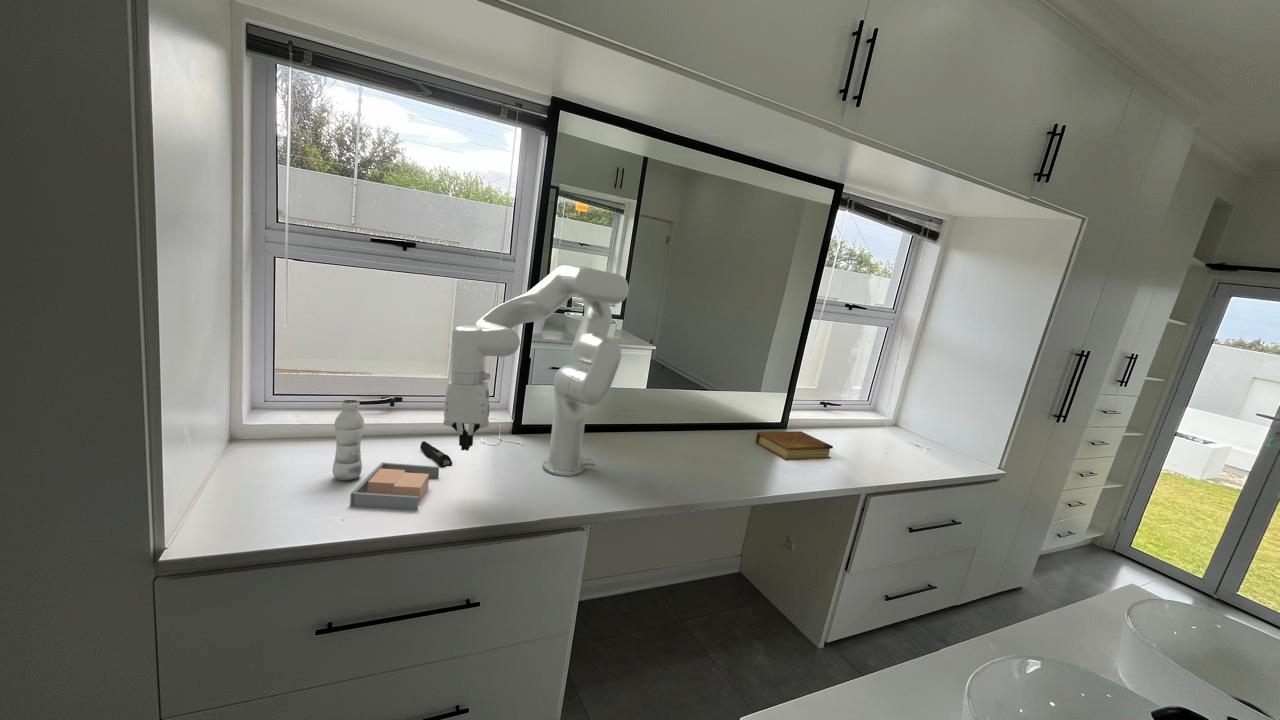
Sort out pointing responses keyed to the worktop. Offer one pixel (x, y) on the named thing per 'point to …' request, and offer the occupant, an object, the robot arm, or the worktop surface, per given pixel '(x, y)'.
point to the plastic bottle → (348, 441)
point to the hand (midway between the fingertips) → (465, 448)
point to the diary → (793, 445)
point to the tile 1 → (384, 481)
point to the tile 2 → (412, 485)
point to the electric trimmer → (436, 454)
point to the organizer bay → (387, 500)
